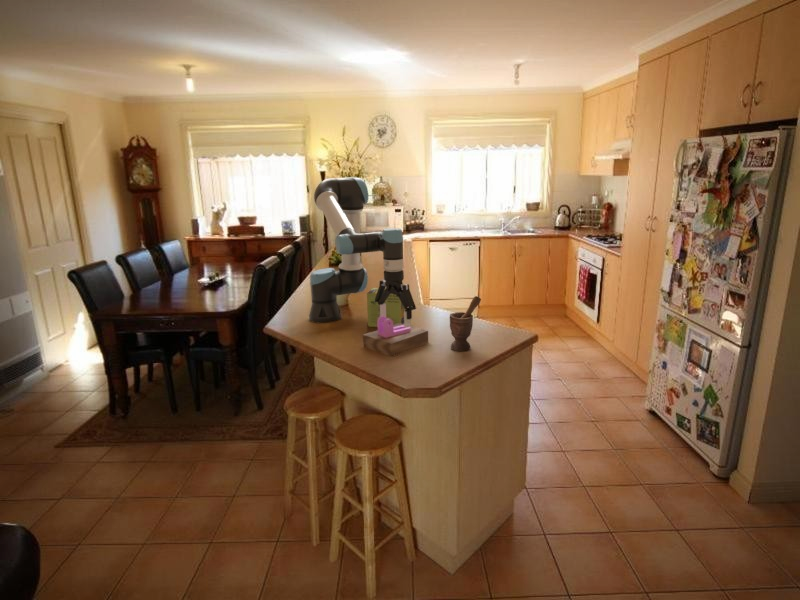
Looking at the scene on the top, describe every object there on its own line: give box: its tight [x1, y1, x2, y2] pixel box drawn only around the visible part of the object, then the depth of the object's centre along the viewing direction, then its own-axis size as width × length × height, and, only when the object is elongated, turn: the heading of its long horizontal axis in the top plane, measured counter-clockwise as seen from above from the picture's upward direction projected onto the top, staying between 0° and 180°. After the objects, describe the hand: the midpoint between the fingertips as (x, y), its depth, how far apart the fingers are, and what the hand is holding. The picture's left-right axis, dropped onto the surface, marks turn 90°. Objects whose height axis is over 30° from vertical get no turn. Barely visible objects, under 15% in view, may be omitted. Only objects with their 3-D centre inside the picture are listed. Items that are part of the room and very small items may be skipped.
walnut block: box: [362, 323, 429, 357], centre depth 186 cm, size 16×20×5 cm
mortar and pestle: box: [449, 295, 482, 352], centre depth 179 cm, size 12×9×20 cm
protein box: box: [366, 287, 405, 328], centre depth 212 cm, size 10×15×16 cm
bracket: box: [376, 316, 411, 338], centre depth 184 cm, size 13×6×7 cm, turn 124°
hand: (395, 323), depth 185 cm, fingers open, 13 cm apart
